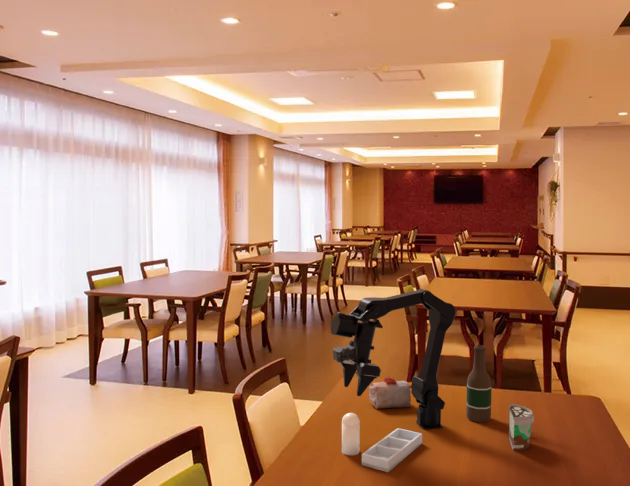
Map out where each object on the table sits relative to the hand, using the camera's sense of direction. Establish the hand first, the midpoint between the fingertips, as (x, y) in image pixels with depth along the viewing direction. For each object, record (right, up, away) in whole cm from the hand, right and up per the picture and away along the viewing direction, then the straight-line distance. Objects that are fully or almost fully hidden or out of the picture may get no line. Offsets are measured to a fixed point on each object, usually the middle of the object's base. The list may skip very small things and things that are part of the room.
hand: (352, 391), depth 173 cm
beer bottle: (+42, -13, +16) cm, 47 cm away
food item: (+15, -13, +28) cm, 34 cm away
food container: (+49, -14, -5) cm, 51 cm away
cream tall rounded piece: (-1, -14, -10) cm, 18 cm away
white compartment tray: (+11, -15, -11) cm, 21 cm away
